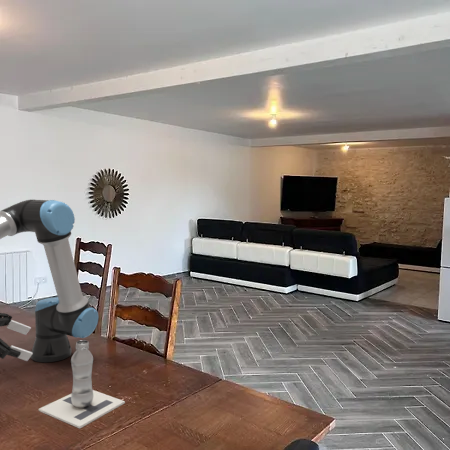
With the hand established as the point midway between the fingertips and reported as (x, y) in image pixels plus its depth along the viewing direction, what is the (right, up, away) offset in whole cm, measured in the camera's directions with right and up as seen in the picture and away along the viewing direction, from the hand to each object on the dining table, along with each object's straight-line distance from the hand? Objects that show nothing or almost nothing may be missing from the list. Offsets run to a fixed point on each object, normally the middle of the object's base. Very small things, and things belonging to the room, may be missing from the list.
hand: (29, 343), depth 137 cm
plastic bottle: (+17, -19, 0) cm, 25 cm away
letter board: (+17, -20, 0) cm, 26 cm away
